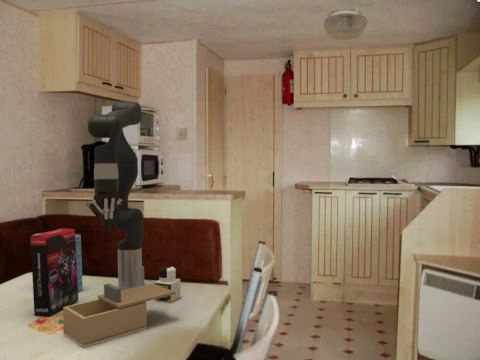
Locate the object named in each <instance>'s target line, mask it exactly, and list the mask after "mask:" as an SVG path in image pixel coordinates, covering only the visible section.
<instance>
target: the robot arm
mask: <svg viewBox="0 0 480 360" xmlns="http://www.w3.org/2000/svg"><path fill="white" fill-rule="evenodd" d="M142 111H143V110H142V106H141V104H140V103H139V102H137V101H114V102H113V104H112V105H111V111H110V112H108V113H105V114H98V115H93V116H92V117H90V119H89V121H88V123H87V132H88V133H89V135H90V136H91V137H93V138H96V139H107V138H108V141H107V142H106V143H103V144H100V145H96V146H95V148H94V150H93V151H94V166H93V167H94V168H93V175H94V176H93V183H94V185H93V187H94V191H93V192H94V195H93V199H92V200H91V201H90V202H87V204H86V206H87V207H88V208H89V210H90V211H91V212H92V213H93V215H94V216H95V217H96V218H99V219H101V222H102V223H101V224H102V225H101V227H102V229H103V230H104V232H108V231H112V229H113V227H114V229H115V230H117V231H119V232H126V236H125V238H124V239H122V240H119V241H118V242H117V277H118V278H117V280H118V281H117V282H118V283H117V284H118V285H117V286H118V288H120V289H121V290H125V289H130V288H134V287H139V286H143V285H145V266H143V256H142V255H143V254H142V253H143V252H142V247H143V246H142V244H143V240H144V223H145V222H144V221H145V220H144V219H145V218H144V214H143V212H142V210H141V209H139V208H135V207H134V208H133V207H129V196H130V194H131V193H130V192H131V190H132V188H133V187H134V185H135V183H136V181H137V179H138V175H139V163H138V161H139V159H138V156H137V153H136V152H135V151H134V149H133V147H131V145H130V144H129V142H128V140H127V139H126V136H125V133H124V129H125V128H127V127H129V126H136V125H139V124H140V123H141V121H142V119H143V118H142V117H143V115H142V113H143V112H142ZM97 206H98V207H99V209H98V207H97Z"/></svg>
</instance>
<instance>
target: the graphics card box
mask: <svg viewBox="0 0 480 360" xmlns="http://www.w3.org/2000/svg"><path fill="white" fill-rule="evenodd" d="M40 233H41V234H38V233H36V234H37V235H34V234H32V235H30V238H29V239H30V254H31V255H30V257H31V258H30V259H31V271H32V272H31V276H32V290H33V291H32V293H33V294H32V296H33V311H34V313H33V314H34V316H41V317H42V316H45V317H46V316H47V317H51V316H52V315H54V314H56V313H57V312H60V311H63V307H66V306H70V305H73V304H74V303H76V302H78V301H79V292H78V282H77V261H76V241H75V234H76V229H73V228H62V227H61V228H58V229H55V230H50V231H46V232H40Z"/></svg>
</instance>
